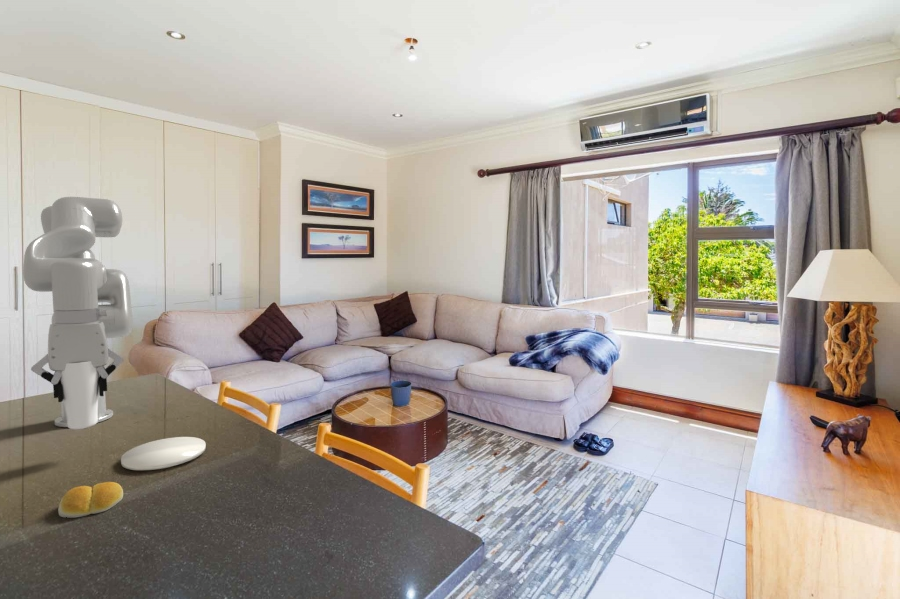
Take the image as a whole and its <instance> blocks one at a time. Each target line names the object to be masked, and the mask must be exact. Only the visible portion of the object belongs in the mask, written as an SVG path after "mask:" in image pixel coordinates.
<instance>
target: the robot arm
mask: <svg viewBox="0 0 900 599" xmlns="http://www.w3.org/2000/svg"><path fill="white" fill-rule="evenodd" d="M40 213H41V214H40V222H41V223H40V224H41V227H42V231H43V234H42V235H40V236H38V237H37V238H35V239H33V240H32V241H31V242H30V243H29V244H28V245H27V247H26V248H25V251H24V256H23V264H22V265H23V267H22V268H23V269H22V276H23V281H24V283H25V285H26V286H27V288H28V289H30V290H32V291H34V292H40V293H42V292H43V293H44V292H46V293H47V292H51V294H52V295H51V296H52V305H53V306H52V308H53V313H52V316H51V324H50V325H49V329H48V334H47V335H48V336H47V354H45V355H44V356H43V357H42V358H41V359H40V360H38V361H37V362H36V363H35V364H34V365H32V366H31V368H30V370H31V372H32V373H35V374H36V375H38V376H39V377H41V378H42V379H44V380H46V381H47V382H49V383H50V384H51V385H52V387H53V390H52V391H53V398H54V399H57V402H58V403H60V407H61V415H60V416H58V417H56V418H55V419H54V425H55V426H56V427H60V428H61V427H62V428H68V426H67V417H66V411H65V406H64V400H63V393H62V384H61V382H60V378H61V376H62V371H64V370H65V367H66V364H67V363H81V362H87V361H91V363H92V365H93V367H95V368H96V369H97V371H98V372H99V392H98V422H97V423H101V422H104V421H107V420H109V419H111V418H112V417H113V416H114V411H113V409H109V408H107V404H106V403H107V400H106V392H108V381H107V380H108V379H107V378H109V375H111V374H112V373H113V372H114V371H115V370H116V369H117V368H118V367H120V365H121V364H122V363H123V362H124V361H125V360H124V357H123V356H121V355H119V354H118V353H116V352H115V351H114V350H112V349H110V348H108V347H109V346H108V339H117V338H124V337H127V336H129V335H130V334H131V333H132V331H133V326H134V325H133V324H134V323H133V320H134V319H133V312H132V311H133V309H132V300H131V291H130V284H129V279H128V276H127V274H126V273H125V272H124V271H122V270H120V269H114V268H113V269H112V268H106V267H105V265H103V264H102V262H101V261H100V260H98V259H96V256H95V254H94V252H93V251H92V249H91V248H93V247H94V245H95V243H96V238H115V237H117V236H118V235H119V234H120V231H121V229H122V225H123V213H122V211H121V208H120V206H119V204H117V202H115V201H114V200H111V199H108V198H107V199H106V198H94V197H83V196H81V197H80V196H64V197H60V198H58V199H56V200H55V201H54V202H52V205H51V206H50V205H49V206H48V207H45V208H43V209H42V210H41V212H40ZM99 303H107V304H99ZM108 303H109V304H108ZM109 358H110V359H112V360H113V361H112V362H111V363H110V364H109V365H108V366H107V367H106V368H105V366H106V365H107V364H108V362H109ZM47 364H48V368H49V370H50V371H52V372H54V373H51V372H50V371H48V370H46V369H44V368H43V367H44V366H45V365H47ZM97 423H96V424H97Z"/></svg>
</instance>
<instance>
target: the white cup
mask: <svg viewBox="0 0 900 599" xmlns="http://www.w3.org/2000/svg"><path fill="white" fill-rule="evenodd" d="M60 382H61V384H62V393H63V400H64V406H65V411H66V417H67V426H68V427H67V428H68V429H71V430H83V429H86V428H91V427H94V426H95V425H97V422H98V392H99V372H98V371H97V369H96V368H95V367H93V365H92V363H91V361H87V362H81V363H67V364H66V367H65V370H64V371H62V376H61V378H60ZM98 423H99V422H98Z"/></svg>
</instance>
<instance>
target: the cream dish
mask: <svg viewBox="0 0 900 599" xmlns="http://www.w3.org/2000/svg"><path fill="white" fill-rule="evenodd" d="M206 446H207V445H206V441H205V440H204V439H203V438H202V439H201V438H199V437H194V436H175V437H168V438H167V437H166V438H162V439H157V440H153V441H149V442H146V443H143V444H139V445H137V446H134V447H133V448H131V449H129V450H127V451H126V452H125V453H123V454H122V456H120V464H121V466H122V467H123V468H125V469H127V470H132V471H152V470H160V469H161V470H162V469H166V468H171V467H174V466H178V465H181V464H184V463H186V462H189V461H190V462H191V461H192V460H194V459H196V458H197V457H199V456H201V455H202V454H203V453H204V452H205V451H206V449H207V448H206Z"/></svg>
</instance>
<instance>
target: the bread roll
mask: <svg viewBox="0 0 900 599" xmlns="http://www.w3.org/2000/svg"><path fill="white" fill-rule="evenodd" d="M123 497H124V489H123V487H122V486H121V485H120V483H117V482H114V481H105V482H104V481H103V482H99V483H96V484H94V485H93V486H88V485H81V486H75V487H72V488H71V489H69V490H68V491H67V492H66V493H65V494H64V495H63V496H62V497H61V499H60V502H59V505H58V511H57V512H58V516H59V517H62V518H66V517H67V518H69V519H70V518H71V519H74V518H82V517H85V516H89V515H91V514H93V515H94V514H100V513H104V512H106V511H108V510H110V509H111V508H113V507H115V506H116V505H117V504H118V503H119V502H121V501H122V499H123Z"/></svg>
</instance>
